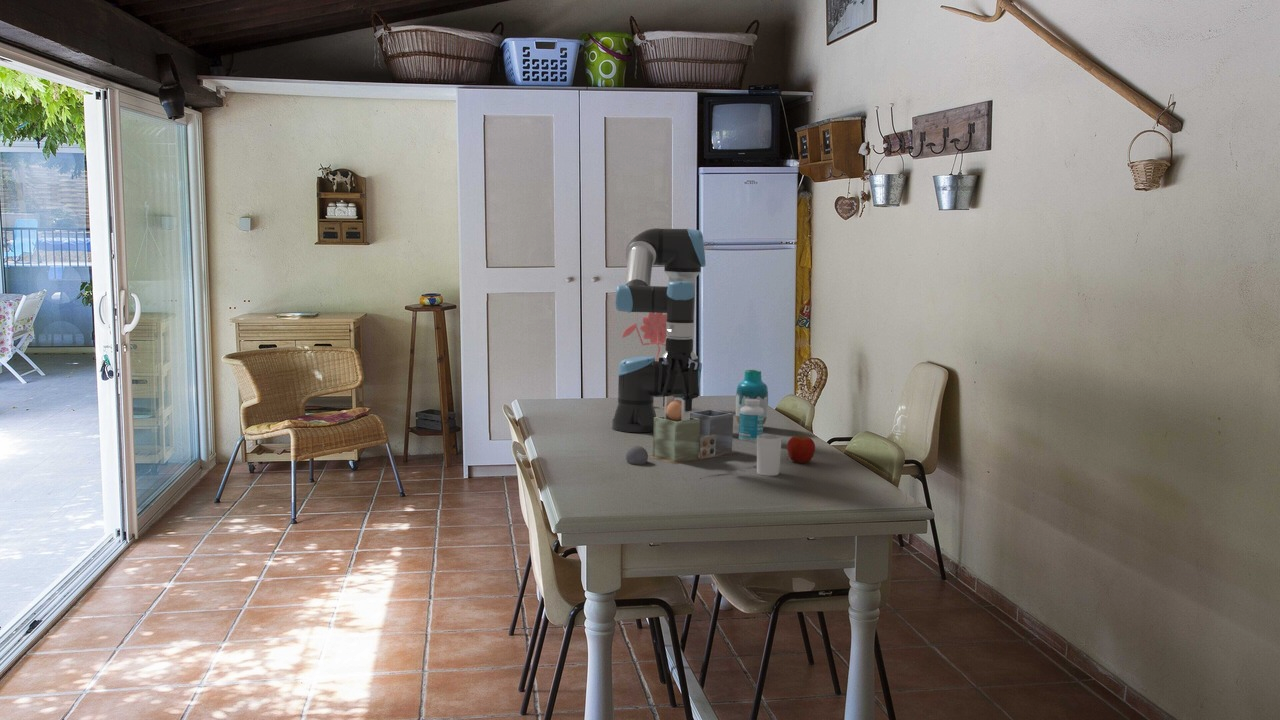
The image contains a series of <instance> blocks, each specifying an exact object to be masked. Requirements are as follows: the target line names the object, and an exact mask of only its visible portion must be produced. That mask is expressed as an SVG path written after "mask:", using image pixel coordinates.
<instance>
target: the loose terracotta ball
mask: <svg viewBox="0 0 1280 720" xmlns="http://www.w3.org/2000/svg"><path fill="white" fill-rule="evenodd" d="M681 409H682V400H675V399H674V400H673V401H672V402H671V403H670V404H669V405H668V406H667V409H666V413H667V416H668V418H669V419H670V420H672V421H676V422H679V421H681Z"/></svg>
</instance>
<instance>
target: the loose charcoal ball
mask: <svg viewBox="0 0 1280 720" xmlns="http://www.w3.org/2000/svg"><path fill="white" fill-rule="evenodd" d="M648 456H649V454H648V451H647V450H646V449H645V447H643V446H641V445H633V446H631V447H630V448H628V450H626V454H625V460H626V462H627V464H630V465H635V466H636V465H645V464H647V462H648V460H649V457H648Z"/></svg>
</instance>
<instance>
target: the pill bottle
mask: <svg viewBox="0 0 1280 720" xmlns="http://www.w3.org/2000/svg"><path fill="white" fill-rule="evenodd" d="M744 403H745V406H743V407H741V409H740V417H739V424H738V440H741V441H745V442H750V443H756V444H757V435H761V434H764V425H763V422H764V410H763V408H761V407H759V405H760V400H758V399H745V402H744Z"/></svg>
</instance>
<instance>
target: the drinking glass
mask: <svg viewBox="0 0 1280 720" xmlns="http://www.w3.org/2000/svg"><path fill="white" fill-rule="evenodd" d="M782 440H783V437H782V436H781V435H779V434H771V433H763V434H761V435H757V443H756V473H757V474H758V475H760V476H767V477H769V476H770V477H772V476H778V475H779V473H780V462H781V451H782Z"/></svg>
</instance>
